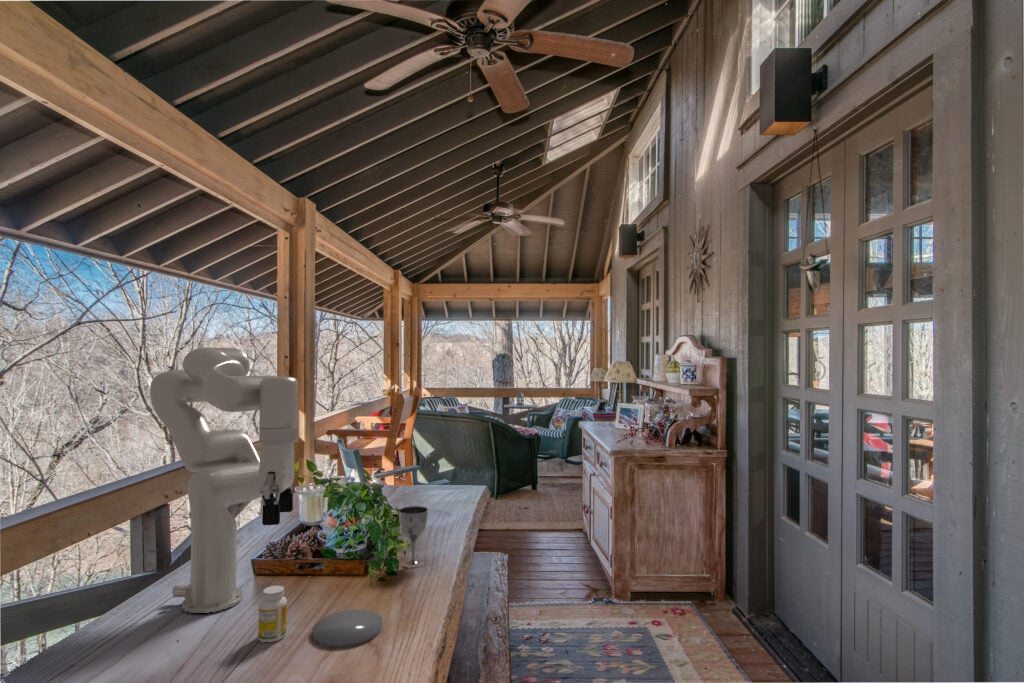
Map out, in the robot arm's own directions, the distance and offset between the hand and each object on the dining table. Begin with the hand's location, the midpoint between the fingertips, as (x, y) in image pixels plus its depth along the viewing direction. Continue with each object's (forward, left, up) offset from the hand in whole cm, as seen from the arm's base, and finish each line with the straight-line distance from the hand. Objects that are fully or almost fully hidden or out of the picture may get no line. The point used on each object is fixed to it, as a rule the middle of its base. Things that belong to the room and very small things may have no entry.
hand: (278, 517), depth 114 cm
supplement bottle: (-1, -1, -24) cm, 24 cm away
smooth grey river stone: (+14, 0, -24) cm, 28 cm away
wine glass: (+25, +37, -24) cm, 51 cm away
